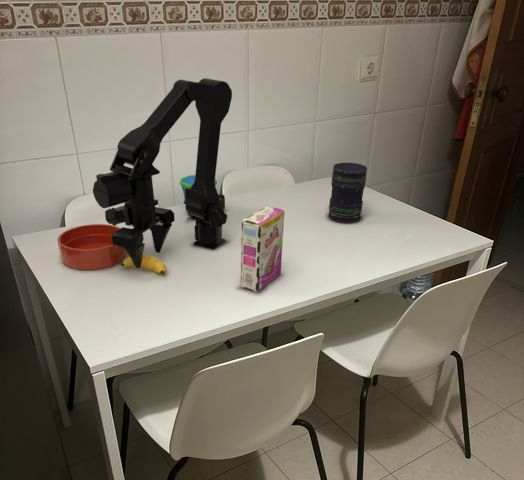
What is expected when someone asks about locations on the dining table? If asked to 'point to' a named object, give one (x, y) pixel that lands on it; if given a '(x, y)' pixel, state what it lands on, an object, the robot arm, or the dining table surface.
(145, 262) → the banana
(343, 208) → the storage jar
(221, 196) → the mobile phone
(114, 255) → the bowl
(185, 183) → the snack cup
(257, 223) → the candy bar box
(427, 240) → the dining table surface
